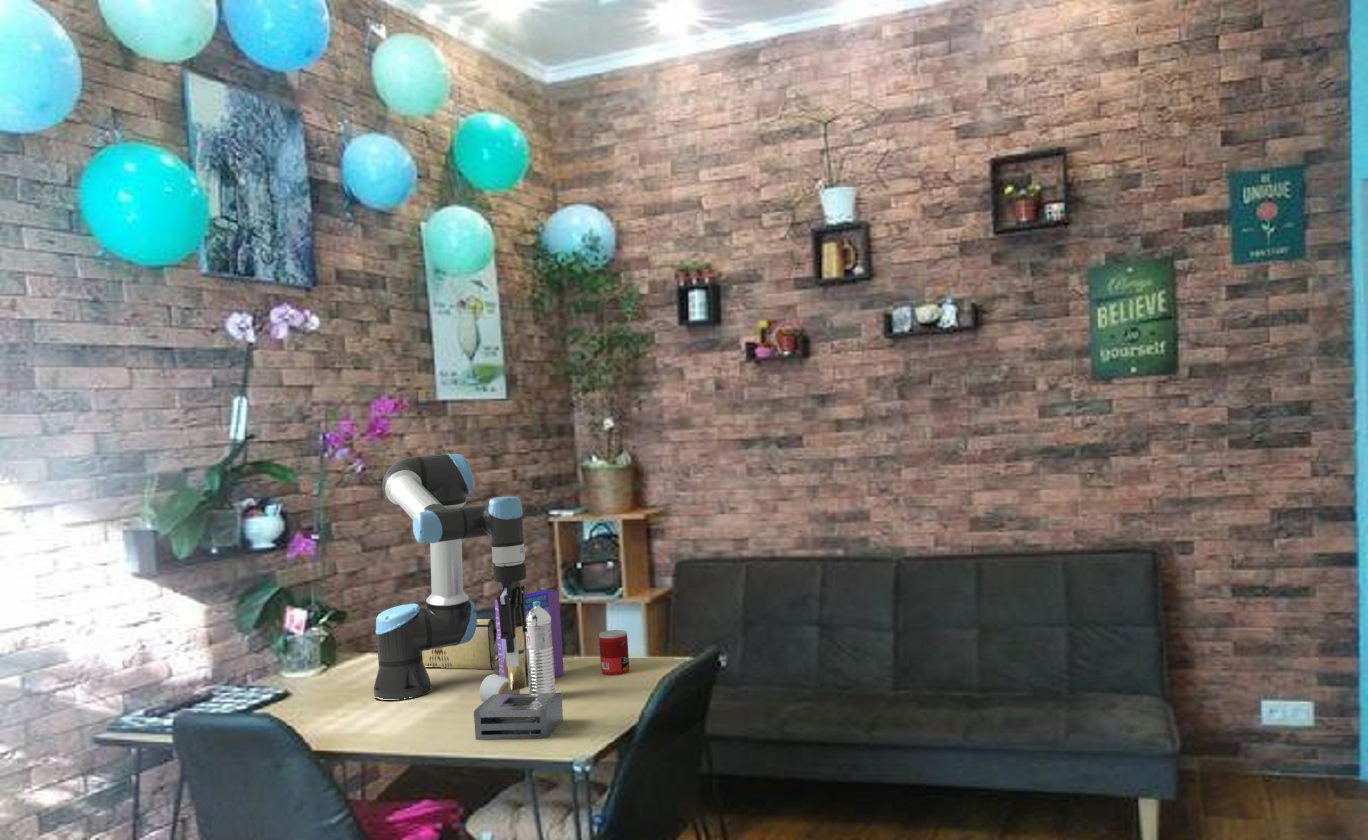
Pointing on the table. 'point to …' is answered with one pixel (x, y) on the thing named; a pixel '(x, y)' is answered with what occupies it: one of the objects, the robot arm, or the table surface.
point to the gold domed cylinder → (518, 672)
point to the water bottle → (539, 651)
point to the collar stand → (518, 716)
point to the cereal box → (549, 604)
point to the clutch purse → (467, 650)
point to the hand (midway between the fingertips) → (516, 663)
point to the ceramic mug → (495, 687)
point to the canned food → (614, 652)
